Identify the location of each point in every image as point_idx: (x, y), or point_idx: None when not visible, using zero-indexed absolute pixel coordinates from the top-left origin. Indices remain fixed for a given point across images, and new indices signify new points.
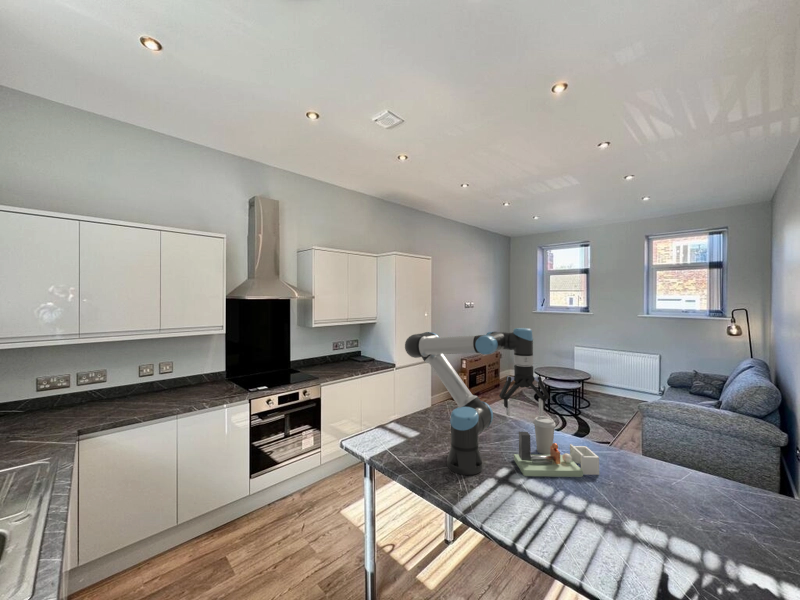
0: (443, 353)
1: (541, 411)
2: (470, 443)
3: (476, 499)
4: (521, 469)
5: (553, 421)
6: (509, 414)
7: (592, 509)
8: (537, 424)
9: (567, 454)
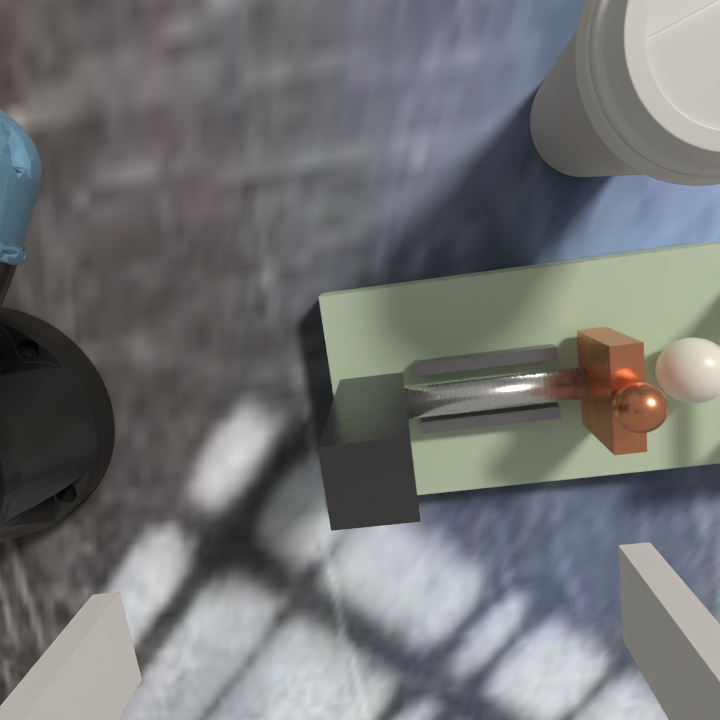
0: None
1: (662, 705)
2: None
3: None
4: None
5: None
6: (120, 700)
7: (607, 713)
8: (607, 127)
9: (708, 387)
